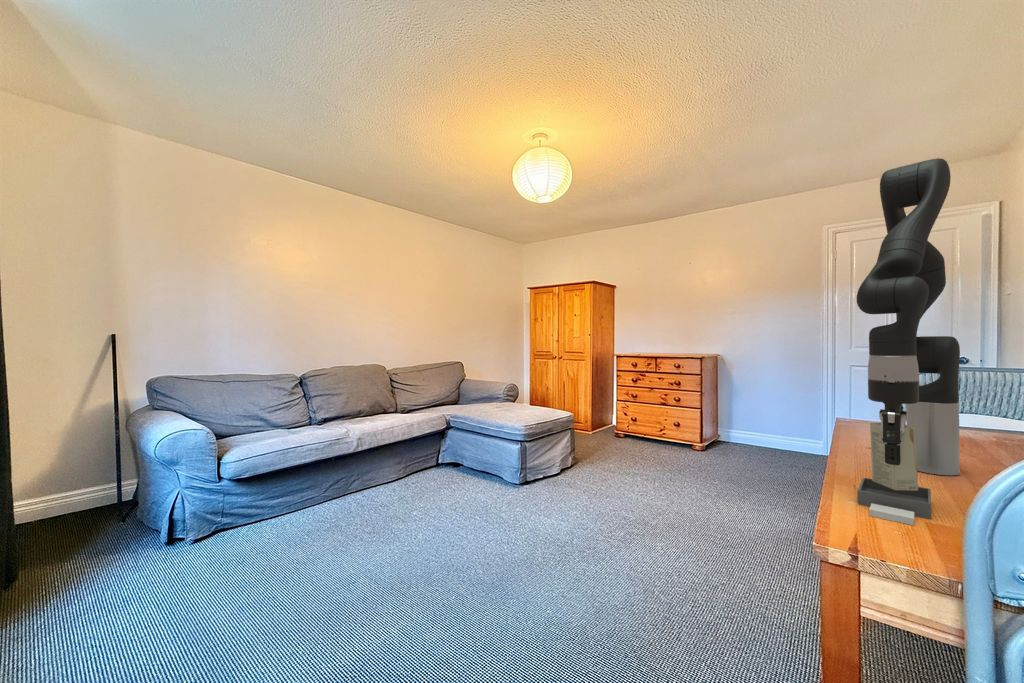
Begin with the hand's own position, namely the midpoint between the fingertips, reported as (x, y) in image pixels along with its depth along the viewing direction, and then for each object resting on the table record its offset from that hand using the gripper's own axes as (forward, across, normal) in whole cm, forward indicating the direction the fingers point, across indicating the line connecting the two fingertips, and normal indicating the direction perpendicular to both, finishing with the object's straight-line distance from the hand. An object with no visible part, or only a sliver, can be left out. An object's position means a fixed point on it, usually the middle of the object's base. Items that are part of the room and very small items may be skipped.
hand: (893, 459), depth 83 cm
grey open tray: (+9, +3, 0) cm, 9 cm away
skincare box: (+5, 0, 0) cm, 5 cm away
